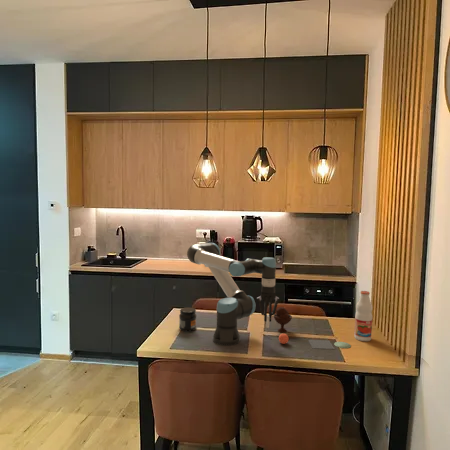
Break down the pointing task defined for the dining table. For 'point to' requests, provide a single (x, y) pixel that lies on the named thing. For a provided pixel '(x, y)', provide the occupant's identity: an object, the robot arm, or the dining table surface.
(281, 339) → the ball
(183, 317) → the supplement container
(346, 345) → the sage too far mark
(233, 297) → the robot arm
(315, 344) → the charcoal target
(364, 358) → the dining table surface
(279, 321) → the ice cream bowl
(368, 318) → the fruit juice
